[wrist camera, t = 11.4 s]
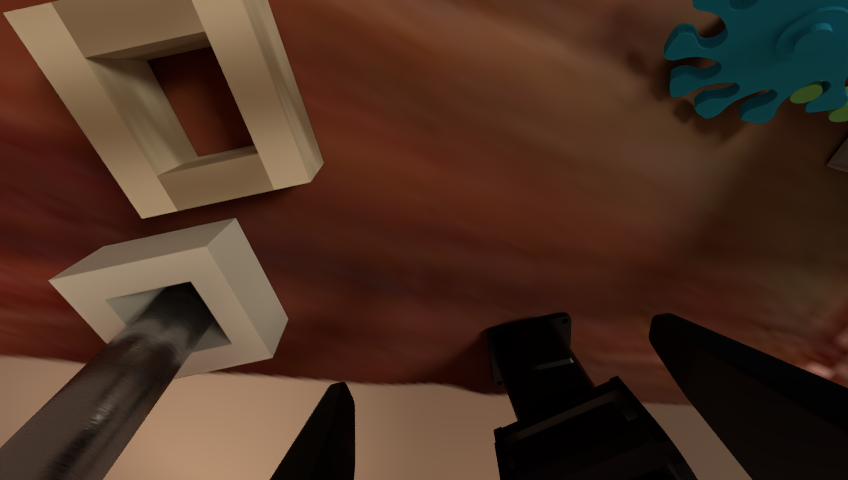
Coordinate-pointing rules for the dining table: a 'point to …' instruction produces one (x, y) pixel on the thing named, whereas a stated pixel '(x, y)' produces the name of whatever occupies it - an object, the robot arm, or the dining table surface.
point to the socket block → (173, 264)
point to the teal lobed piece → (766, 57)
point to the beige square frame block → (150, 109)
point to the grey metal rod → (109, 394)
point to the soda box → (840, 158)
